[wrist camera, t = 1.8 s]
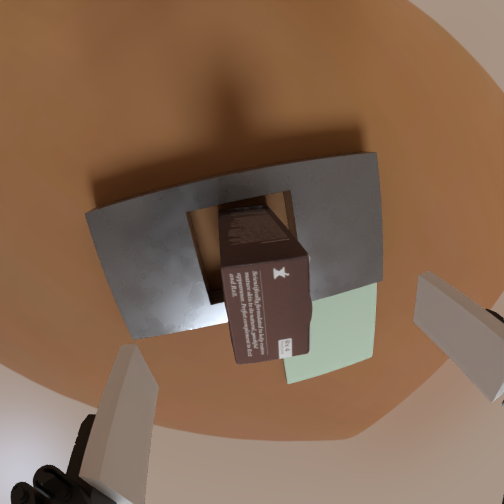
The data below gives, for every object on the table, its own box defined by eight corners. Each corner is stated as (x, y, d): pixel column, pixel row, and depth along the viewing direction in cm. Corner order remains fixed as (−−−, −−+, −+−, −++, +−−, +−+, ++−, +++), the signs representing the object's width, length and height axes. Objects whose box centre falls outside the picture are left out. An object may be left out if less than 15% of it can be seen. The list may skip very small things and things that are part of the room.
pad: (286, 380, 31) (287, 384, 30) (273, 305, 27) (275, 308, 26) (370, 354, 32) (372, 356, 31) (374, 277, 28) (376, 280, 27)
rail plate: (138, 324, 26) (133, 339, 23) (96, 207, 21) (84, 213, 19) (370, 270, 27) (382, 280, 25) (362, 151, 23) (376, 152, 21)
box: (214, 210, 23) (218, 265, 12) (267, 203, 24) (319, 251, 12) (223, 276, 25) (235, 369, 14) (272, 269, 26) (317, 354, 15)
